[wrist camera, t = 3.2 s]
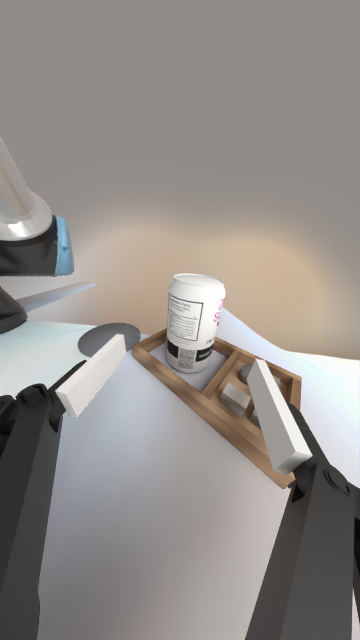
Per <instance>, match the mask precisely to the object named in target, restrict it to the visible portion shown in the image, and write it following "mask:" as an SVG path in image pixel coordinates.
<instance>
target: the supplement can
mask: <svg viewBox="0 0 360 640" xmlns="http://www.w3.org/2000/svg"><path fill="white" fill-rule="evenodd" d="M224 298H225V289H224V285H223V280H221V279H219V278H216V277H212V276H207V275H200V274H177V275H174V279H173V280H172V282H171V283H170V285H169V294H168V320H167V345H166V358H167V361H168V363H169V364H170V365H171V366H172V367H173V368H175V369H177V370H179V371H181V372H186V373H194V372H199V371H201V370H203V369H205V368H206V367H207V365H208V364H209V360H210V356H211V352H212V348H213V344H214V340H215V336H216V331H217V327H218V323H219V319H220V315H221V311H222V306H223V302H224Z"/></svg>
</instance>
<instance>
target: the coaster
mask: <svg viewBox="0 0 360 640" xmlns="http://www.w3.org/2000/svg"><path fill="white" fill-rule="evenodd" d="M116 334H121V335H124V341H125V348H126V352H127V351H129V350H130V349H132V346H133V345H135V344H137V343H138V342H139V340H140V331H139V330H138V328H136V327H134V326H133V325H130V324H126V323H111V324H105V325H101V326H98V327H96V328H93V329H91V330H89V331H88V332H86V333H85V334H84V335H83V336H82V337H81V338H80V339H79V342H78V348H79V350H80V352H81V353H83V354H84V355H86V356H89V357H92V356H93V355H94V354H96V353H97V352H98V351H99V350H100V349H101V348H102V347H103V346H104V345H105V344H106V343H107V342H109V341H110V340H111V339H112V338H113V337H114V336H115V335H116Z"/></svg>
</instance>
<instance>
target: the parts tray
mask: <svg viewBox="0 0 360 640" xmlns="http://www.w3.org/2000/svg"><path fill="white" fill-rule="evenodd" d="M166 341H167V329H165V330H163V331H161V332H159V333H157V334H155V335H153V336H151V337H149V338H147V339H145V340H143V341H141V342H139V343H137V344H135V345H133V346H132V354H133V357H134V358H135V359H136V360H137V361H138V362H139V363H141V364H142V365H143V366H144V367H145V368H146V369H147V370H148V371H150V372H151V373H152V374H153V375H154V376H155V377H156V378H158V379H159V380H160V381H161V382H162V383H163V384H164V385H166V386H167V387H168V388H169V389H170V390H171V391H172V392H173V393H175V394H176V395H177V396H178V397H179V398H180V399H181V400H183V401H184V402H185V403H186V404H187V405H188V406H189V407H190V408H192V409H193V410H194V411H195V412H196V413H197V414H198V415H200V416H201V417H202V418H203V419H204V420H205V421H206V422H208V423H209V424H210V425H211V426H212V427H213V428H214V429H215V430H217V431H218V432H219V433H220V434H221V435H222V436H223V437H225V438H226V439H227V440H228V441H229V442H230V443H231V444H232V445H234V446H235V447H236V448H237V449H238V450H239V451H240V452H242V453H243V454H244V455H245V456H246V457H247V458H248V459H250V460H251V461H252V462H253V463H254V464H255V465H256V466H257V467H259V468H260V469H261V470H262V471H263V472H264V473H265V474H267V475H268V476H269V477H270V478H271V479H272V480H273V481H274V482H276V483H277V484H278V485H279V486H280V487H281V488H282V489H285V488H286V487H287V486H288V485H289V484H290V483H291V482H292V481H294V480H295V477H294V474H293V472H291V473H290V474H288V475H285V474H282V473H278V472H274V471H273V467H272V464H271V460H270V457H269V454H268V450H267V447H266V443H265V440H264V437H263V433H262V430H261V426H260V423H259V419H258V416H257V413H256V409H255V406H254V402H253V399H252V396H251V392H250V389H249V385H248V382H247V377H248V375H249V373H250V370H251V368H252V366H253V364H254V362H255V359H260V360H264V359H262V358H259V357H257V356H255V355H253V354H251V353H249V352H247V351H245V350H243V349H240V348H238V347H236V346H234V345H232V344H230V343H228V342H226V341H223V340H221V339H219V338H217V337H215V340H214V344H213V348H212V349H214V350H215V351H217V352H219V353H221V354H223V355H225V356H227V357H229V358H228V360H227V361H226V362H225V363H224V365H223V366H222V367H221V368H220V370H219V371H218V372H217V374H216V375H215V376H214V377H213V379H212V380H211V381H210V382H209V384H208V385H207V386H206V387H205V389H204V390H203V391H202V393H200V392H199V391H197V390H196V389H195V388H193V387H192V386H191V385H190V384H188V383H187V382H186V381H184V380H183V379H182V378H180V377H179V376H178V375H177V374H175V373H174V372H173V371H171V370H170V369H169V368H167V367H166V366H165V365H164V364H162V363H161V362H160V361H158V360H157V359H156V358H154V357H153V356H152V355H151V354H149V353H148V352H149V351H151V350H153V349H154V348H156V347H158V346H159V345H161V344H163V343H164V342H166ZM265 362H266V364H267V366H268V368H269V370H270V372H271V374H272V376H273V378H274V380H275V382H276V384H277V386H278V388H279V390H280V392H281V394H282V396H283V398H284V400H285V402H286V403H290V404H293V405H294V406H295V407H296V408H297V409H298V410H299V411H300V400H301V380H302V377H300V376H298V375H296V374H293V373H291V372H289V371H287V370H285V369H283V368H281V367H279V366H276V365H274V364H272V363H270V362H268V361H266V360H265Z"/></svg>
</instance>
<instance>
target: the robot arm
mask: <svg viewBox="0 0 360 640" xmlns="http://www.w3.org/2000/svg"><path fill="white" fill-rule="evenodd" d="M73 271H74V262H73V254H72V247H71V242H70V236H69V231H68V226H67V223H66V220H65V219H64V218H63V217H60V216H58V215H54V216H53V215H52V213H51V211H50V209H49V207H48V205H47V204H46V203H45V201H43V200H42V199H41V198H40V197H39V196H38V195H36V194H35V193H33V192H31V191H30V190H28V188H27V186H26V184H25V182H24V180H23V178H22V176H21V174H20V172H19V170H18V169H17V167H16V165H15V163H14V161H13V159H12V157H11V155H10V153H9V151H8V150H7V147H6V146H5V144H4V142H3V140H2V138H1V136H0V276H53V277H56V276H61V275H70V274H72V273H73ZM26 319H27V314H26V312H25V310H24V308H23V307H22V306H21V305H20V304H19V303H18V302H16V301H15V300H14V299H13V298H12V297H11V296H10V295H9V294H8V293H6V292H5V291H4V290H3V289H2V288H1V287H0V334H1V333H4V332H6V331H9V330H11V329H13V328H15V327H17V326H19V325H20V324H22V323H23V322H24V321H26ZM125 356H126V348H125V341H124V335H121V334H116V335H115V336H114V337H113V338H112V339H111V340H110V341H109V342H107V343H106V344H105V345H104V346H103V347H102V348H101V349H100V350H99V351H98V352H97V353H96V354H94V355H93V356H92V357H91V358H90V359H89V360H88V361H86V360H83V361H82V362H80V363H78V364H77V365H75V366H74V367H73V368H72V369H71V370H70V371H69V372H67V374H65V375H64V376H63V377H62V378H61V379H59V380H58V381H57V382H56V383H55V384H54V385H53V386H51V387H50V388H49V389H48V390H47V388H46V387H45V385H44V384H40V383H39V384H34V385H31V386H28V387H27V388H25V389H23V390H22V391H21V392H20V393H18V395H17V396H16V397H15V398H16V400H14V398H13V397H12V396H10V395H4V396H0V640H36V639H37V632H38V624H39V614H40V602H39V596H38V583H39V576H40V569H41V563H42V556H43V549H44V542H45V535H46V529H47V522H48V515H49V508H50V502H51V495H52V488H53V481H54V475H55V468H56V461H57V454H58V447H59V441H60V434H61V427H62V420H63V413H64V412H65V411H66V412H67V413H68V415H70V416H73V417H77V418H78V417H79V416H80V414H81V413H82V412H83V411H84V409H85V408H86V407H87V405H88V404H89V403H90V402H91V400H92V399H93V398H94V396H95V395H96V394H97V392H98V391H99V390H100V389H101V387H102V386H103V385H104V383H105V382H106V381H107V380H108V378H109V377H110V376H111V374H112V373H113V372H114V371H115V369H116V368H117V367H118V365H119V364H120V363H121V362H122V360H123V359H124V358H125ZM247 382H248V385H249V389H250V392H251V396H252V399H253V402H254V406H255V409H256V413H257V416H258V419H259V423H260V426H261V430H262V433H263V437H264V440H265V443H266V447H267V450H268V454H269V457H270V460H271V464H272V467H273V471H274V472H278V473H282V474H285V475H288V474H290V473H291V472H293V474H294V477H295V480H294V481H292V482H291V483H290V484H289V485H288V486H287V487H288V488H289V489H290V488H291V487H292V488H291V492H290V495H289V498H288V501H287V505H286V508H285V511H284V514H283V518H282V521H281V524H280V527H279V531H278V534H277V537H276V540H275V544H274V547H273V550H272V553H271V557H270V560H269V563H268V566H267V569H266V573H265V576H264V579H263V582H262V586H261V589H260V592H259V595H258V599H257V602H256V605H255V608H254V612H253V615H252V618H251V621H250V625H249V628H248V631H247V634H246V638H245V640H351V634H352V595H353V589H354V595H355V601H356V606H357V612H358V617H359V623H360V489H359V488H358V487H356V486H354V485H352V484H351V483H349V482H348V481H347V480H346V478H345V477H344V476H343V475H342V474H341V473H340V472H339V471H338V470H337V469H336V468H334V467H333V466H331V465H330V463H329V462H328V460H327V458H326V457H325V455H324V453H323V451H322V450H321V448H320V446H319V444H318V443H317V441H316V439H315V437H314V435H313V434H312V432H311V430H310V428H309V427H308V425H307V423H306V422H305V419H304V418H303V416H302V414H301V412H300V411H299V410H298V409H297V408H296V407H295V406H294V405H293V404H290V403H286V402H285V400H284V398H283V396H282V394H281V392H280V390H279V388H278V386H277V384H276V382H275V380H274V378H273V376H272V374H271V372H270V370H269V368H268V366H267V364H266V362H265V360H260V359H255V362H254V364H253V366H252V368H251V370H250V373H249V375H248V377H247Z"/></svg>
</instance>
